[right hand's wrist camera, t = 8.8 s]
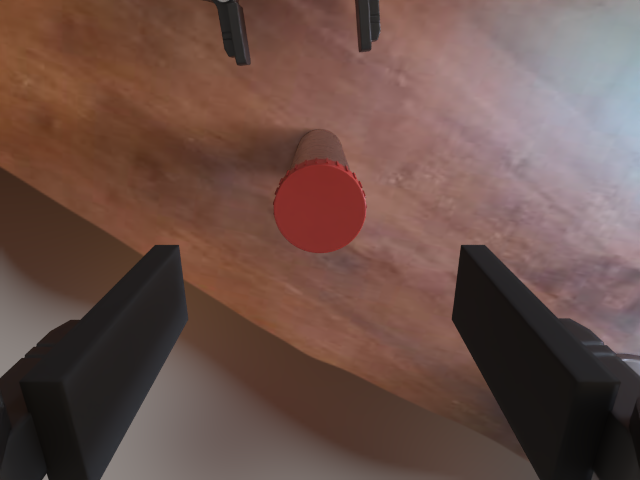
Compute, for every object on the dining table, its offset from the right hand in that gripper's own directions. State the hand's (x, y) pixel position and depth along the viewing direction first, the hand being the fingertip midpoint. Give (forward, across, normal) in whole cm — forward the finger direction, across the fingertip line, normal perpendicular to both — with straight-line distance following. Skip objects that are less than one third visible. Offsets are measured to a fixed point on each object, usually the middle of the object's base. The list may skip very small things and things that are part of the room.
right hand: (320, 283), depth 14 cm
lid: (+9, 0, 0) cm, 9 cm away
